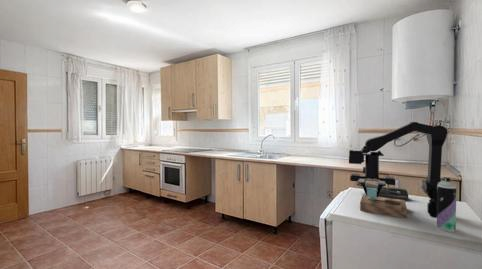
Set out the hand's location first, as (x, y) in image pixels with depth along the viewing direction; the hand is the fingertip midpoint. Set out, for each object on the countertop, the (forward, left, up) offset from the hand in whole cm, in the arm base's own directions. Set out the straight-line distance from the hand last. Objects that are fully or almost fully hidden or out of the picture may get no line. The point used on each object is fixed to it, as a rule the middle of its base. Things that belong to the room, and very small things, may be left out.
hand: (371, 196), depth 112 cm
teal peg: (0, 0, -5) cm, 5 cm away
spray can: (-25, +12, -6) cm, 28 cm away
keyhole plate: (-4, 0, -6) cm, 7 cm away
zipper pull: (-3, -23, -6) cm, 24 cm away
